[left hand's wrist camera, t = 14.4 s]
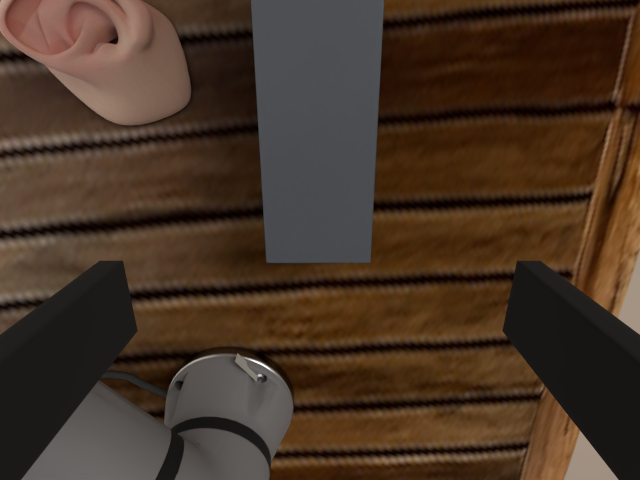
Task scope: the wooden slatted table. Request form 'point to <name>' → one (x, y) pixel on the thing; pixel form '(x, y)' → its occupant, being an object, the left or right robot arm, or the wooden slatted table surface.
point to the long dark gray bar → (317, 126)
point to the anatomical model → (105, 54)
